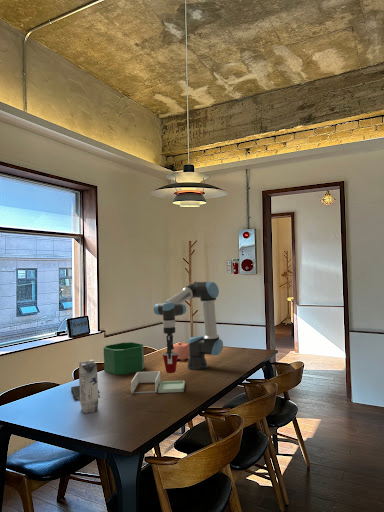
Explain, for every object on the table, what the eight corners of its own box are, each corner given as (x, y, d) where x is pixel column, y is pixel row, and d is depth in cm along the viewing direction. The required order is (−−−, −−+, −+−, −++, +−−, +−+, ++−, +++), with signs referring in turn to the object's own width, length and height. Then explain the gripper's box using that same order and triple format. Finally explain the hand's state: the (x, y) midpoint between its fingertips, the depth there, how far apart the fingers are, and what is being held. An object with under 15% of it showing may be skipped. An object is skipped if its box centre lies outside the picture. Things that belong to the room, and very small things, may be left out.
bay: (137, 382, 266) (137, 372, 266) (160, 381, 265) (160, 371, 266) (131, 393, 243) (130, 382, 243) (156, 392, 242) (156, 381, 243)
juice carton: (82, 414, 210) (80, 363, 211) (79, 408, 220) (78, 359, 221) (99, 411, 214) (97, 361, 214) (95, 405, 223) (94, 357, 224)
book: (71, 391, 254) (71, 386, 254) (94, 388, 260) (94, 383, 260) (74, 401, 234) (74, 396, 234) (99, 397, 240) (99, 392, 240)
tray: (161, 384, 259) (160, 381, 260) (184, 383, 259) (184, 380, 259) (158, 392, 242) (157, 389, 242) (183, 391, 241) (183, 388, 242)
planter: (118, 376, 285) (117, 350, 286) (101, 370, 305) (100, 346, 305) (148, 369, 302) (147, 345, 303) (129, 363, 322) (129, 341, 322)
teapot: (196, 358, 331) (195, 341, 331) (191, 361, 319) (190, 344, 319) (171, 357, 338) (170, 340, 338) (165, 361, 326) (165, 343, 326)
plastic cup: (182, 370, 253) (181, 351, 253) (174, 374, 243) (173, 355, 244) (168, 369, 258) (167, 350, 258) (159, 373, 248) (158, 354, 249)
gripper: (165, 324, 263) (166, 357, 263) (161, 329, 240) (162, 366, 239) (176, 324, 263) (177, 357, 262) (173, 329, 240) (175, 365, 239)
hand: (170, 361), depth 251 cm, fingers closed on plastic cup, 11 cm apart
